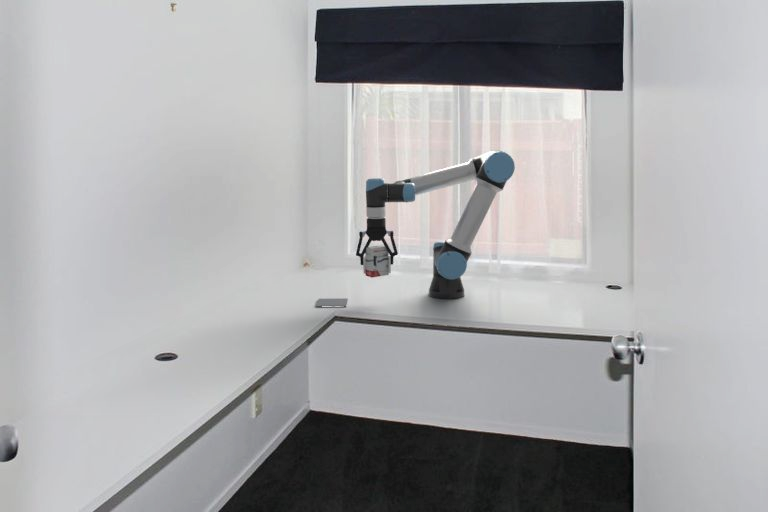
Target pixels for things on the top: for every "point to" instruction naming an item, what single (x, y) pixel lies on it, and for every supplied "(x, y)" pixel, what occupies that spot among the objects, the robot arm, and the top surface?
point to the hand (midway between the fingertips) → (377, 272)
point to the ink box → (376, 261)
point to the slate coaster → (332, 302)
